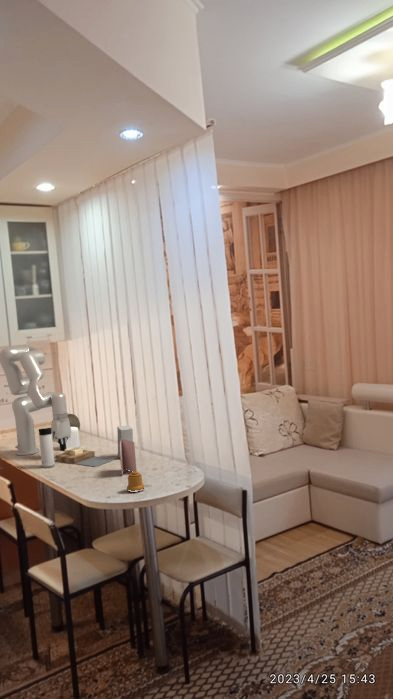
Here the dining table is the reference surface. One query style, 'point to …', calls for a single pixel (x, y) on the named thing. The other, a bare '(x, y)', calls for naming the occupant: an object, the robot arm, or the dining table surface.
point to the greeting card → (127, 455)
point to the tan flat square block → (75, 457)
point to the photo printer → (73, 439)
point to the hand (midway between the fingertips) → (63, 450)
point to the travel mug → (46, 448)
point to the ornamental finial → (135, 481)
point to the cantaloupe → (73, 421)
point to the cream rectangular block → (73, 451)
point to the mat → (95, 461)
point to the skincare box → (124, 435)
